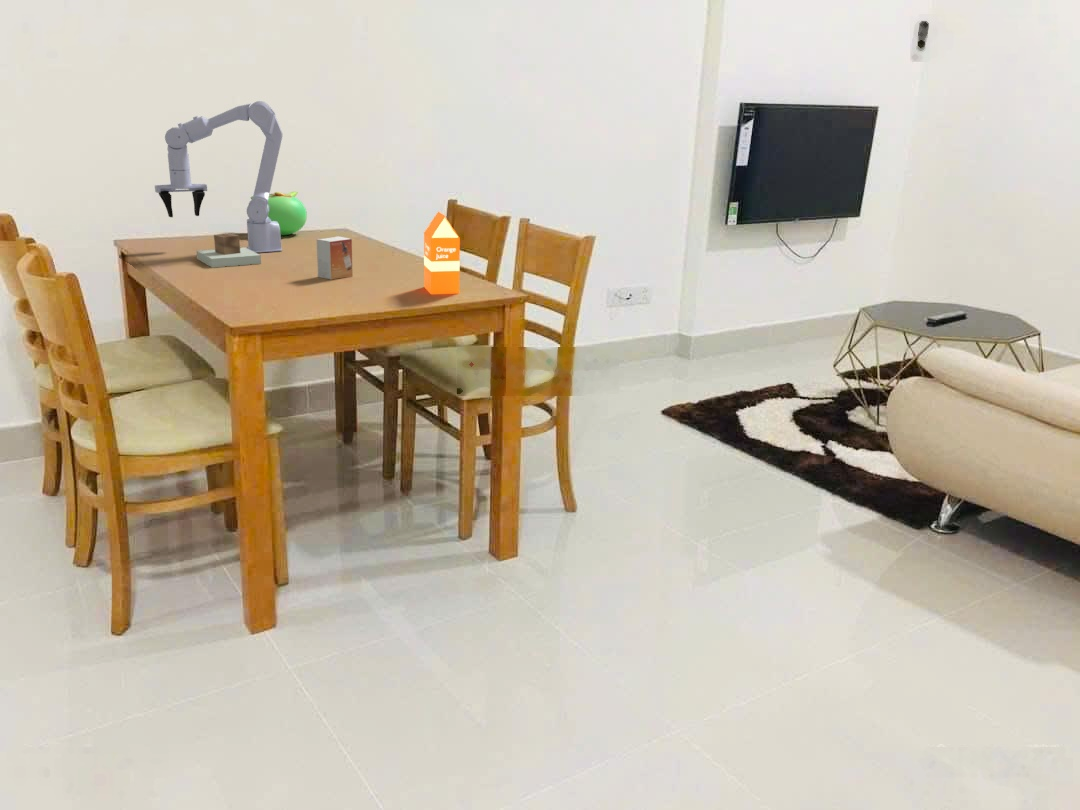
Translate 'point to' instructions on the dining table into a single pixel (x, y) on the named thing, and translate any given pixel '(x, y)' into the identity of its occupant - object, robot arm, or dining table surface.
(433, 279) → the orange juice
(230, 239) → the walnut cube
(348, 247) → the small box
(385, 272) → the dining table surface
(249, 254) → the base
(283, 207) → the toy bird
